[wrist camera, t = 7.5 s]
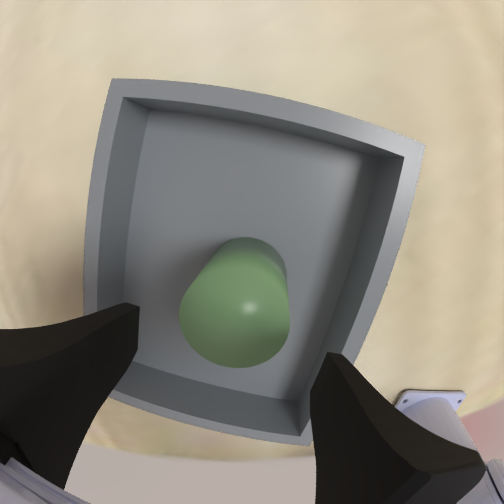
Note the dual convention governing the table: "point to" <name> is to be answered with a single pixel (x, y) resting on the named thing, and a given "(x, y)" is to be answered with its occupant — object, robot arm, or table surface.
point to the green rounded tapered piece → (238, 305)
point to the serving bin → (236, 226)
